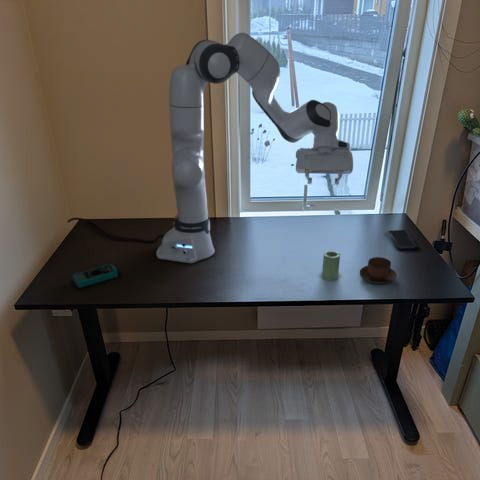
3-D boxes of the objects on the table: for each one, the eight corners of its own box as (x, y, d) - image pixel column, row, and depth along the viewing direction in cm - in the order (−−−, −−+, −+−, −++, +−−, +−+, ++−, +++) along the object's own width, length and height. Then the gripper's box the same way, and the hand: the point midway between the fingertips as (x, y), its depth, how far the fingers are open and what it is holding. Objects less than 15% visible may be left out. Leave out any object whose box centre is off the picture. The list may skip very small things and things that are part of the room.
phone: (397, 247, 174) (386, 230, 186) (397, 249, 175) (386, 233, 187) (418, 246, 174) (406, 229, 186) (417, 249, 175) (405, 232, 187)
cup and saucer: (403, 280, 156) (406, 264, 153) (377, 290, 151) (380, 274, 148) (376, 266, 165) (379, 250, 161) (351, 276, 160) (353, 260, 156)
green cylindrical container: (322, 279, 158) (323, 257, 154) (322, 271, 163) (323, 250, 158) (337, 280, 158) (340, 258, 153) (337, 272, 162) (339, 250, 157)
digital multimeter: (120, 277, 165) (118, 269, 163) (78, 289, 158) (76, 282, 157) (113, 269, 170) (111, 262, 168) (73, 280, 164) (71, 273, 162)
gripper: (296, 143, 164) (293, 179, 162) (354, 143, 161) (352, 180, 159) (296, 152, 171) (293, 187, 168) (352, 153, 168) (351, 188, 165)
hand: (323, 183), depth 164 cm, fingers open, 8 cm apart
